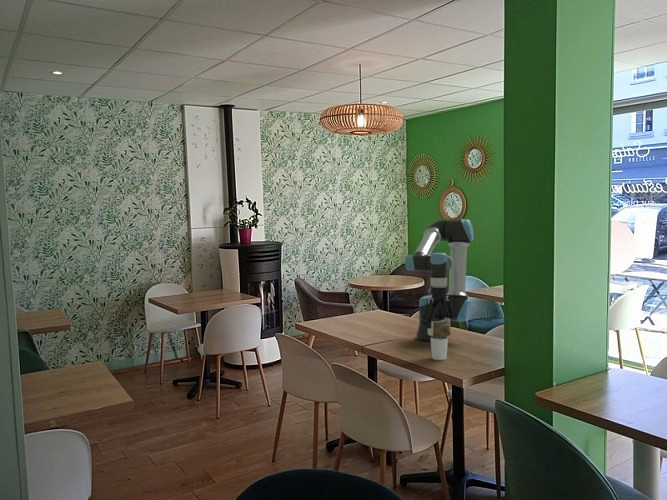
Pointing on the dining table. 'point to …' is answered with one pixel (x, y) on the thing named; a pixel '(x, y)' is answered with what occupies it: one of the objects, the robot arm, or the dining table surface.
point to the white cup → (439, 347)
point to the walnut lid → (440, 328)
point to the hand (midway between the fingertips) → (439, 333)
